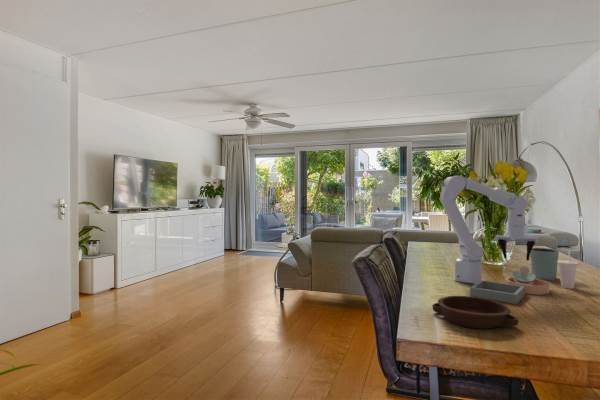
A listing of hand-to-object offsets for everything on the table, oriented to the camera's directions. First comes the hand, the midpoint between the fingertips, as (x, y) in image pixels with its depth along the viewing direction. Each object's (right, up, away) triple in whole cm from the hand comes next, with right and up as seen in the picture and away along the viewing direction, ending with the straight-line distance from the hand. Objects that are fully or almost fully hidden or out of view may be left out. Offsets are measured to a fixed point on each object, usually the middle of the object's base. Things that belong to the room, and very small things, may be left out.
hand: (516, 259), depth 138 cm
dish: (-39, -11, -42) cm, 58 cm away
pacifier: (-1, -8, -6) cm, 9 cm away
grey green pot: (+17, -9, +8) cm, 21 cm away
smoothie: (+14, -10, -8) cm, 19 cm away
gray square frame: (-18, -10, -18) cm, 27 cm away
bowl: (-2, -10, -10) cm, 14 cm away
